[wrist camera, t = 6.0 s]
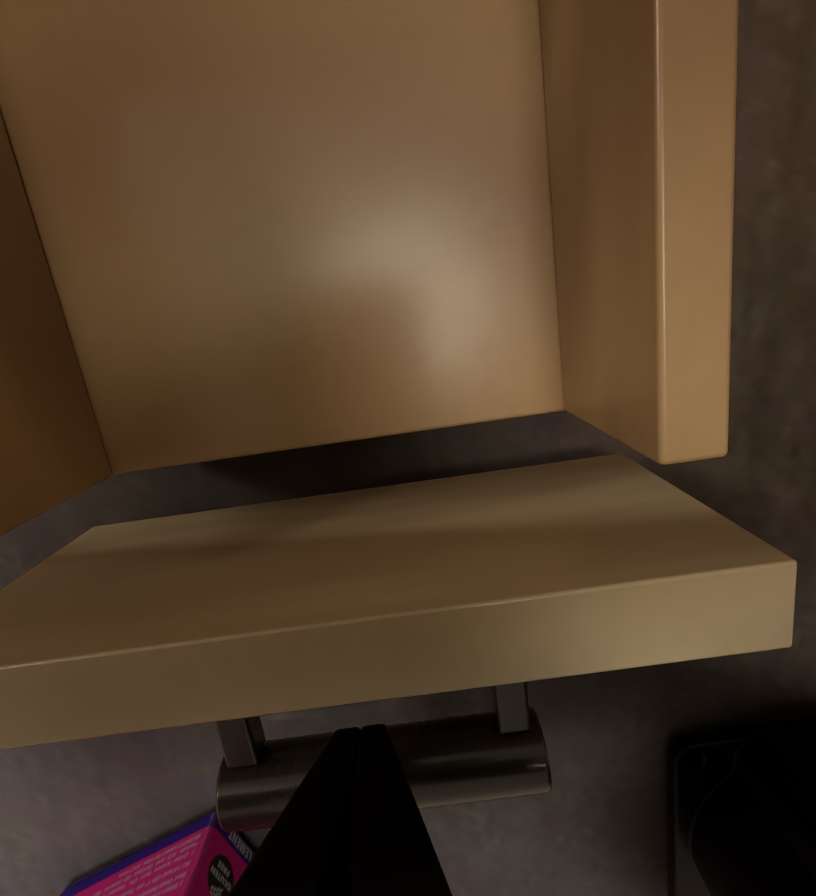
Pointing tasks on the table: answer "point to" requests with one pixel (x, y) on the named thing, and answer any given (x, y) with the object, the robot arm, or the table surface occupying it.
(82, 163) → the drawer
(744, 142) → the table surface
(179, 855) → the supplement box
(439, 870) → the robot arm
